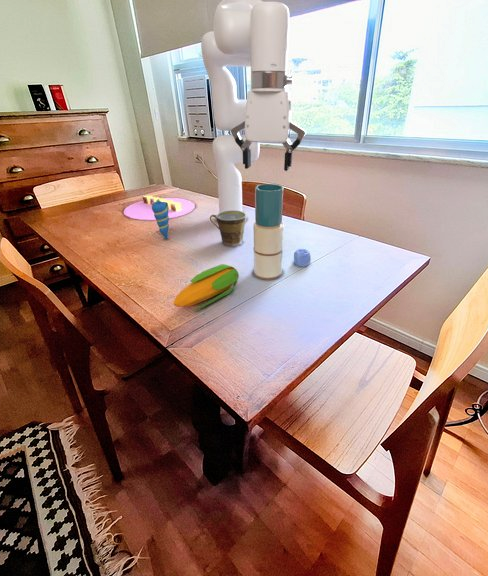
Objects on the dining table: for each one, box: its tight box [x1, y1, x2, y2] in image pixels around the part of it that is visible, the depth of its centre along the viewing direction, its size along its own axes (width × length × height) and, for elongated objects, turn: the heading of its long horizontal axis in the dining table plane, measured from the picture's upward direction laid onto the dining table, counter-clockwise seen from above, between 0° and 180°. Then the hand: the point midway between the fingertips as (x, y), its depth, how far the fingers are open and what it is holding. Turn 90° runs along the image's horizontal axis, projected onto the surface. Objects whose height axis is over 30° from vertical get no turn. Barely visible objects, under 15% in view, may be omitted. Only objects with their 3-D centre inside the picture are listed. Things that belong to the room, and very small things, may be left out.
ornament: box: [152, 197, 170, 240], centre depth 103 cm, size 5×5×15 cm
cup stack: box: [253, 221, 285, 281], centre depth 83 cm, size 8×8×15 cm
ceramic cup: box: [209, 210, 247, 247], centre depth 102 cm, size 13×10×10 cm
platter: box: [123, 194, 196, 221], centre depth 137 cm, size 32×32×3 cm
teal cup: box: [254, 183, 284, 227], centre depth 76 cm, size 7×7×9 cm
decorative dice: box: [293, 248, 311, 267], centre depth 90 cm, size 4×4×4 cm
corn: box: [172, 263, 240, 312], centre depth 74 cm, size 7×8×20 cm
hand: (266, 168), depth 72 cm, fingers open, 9 cm apart
